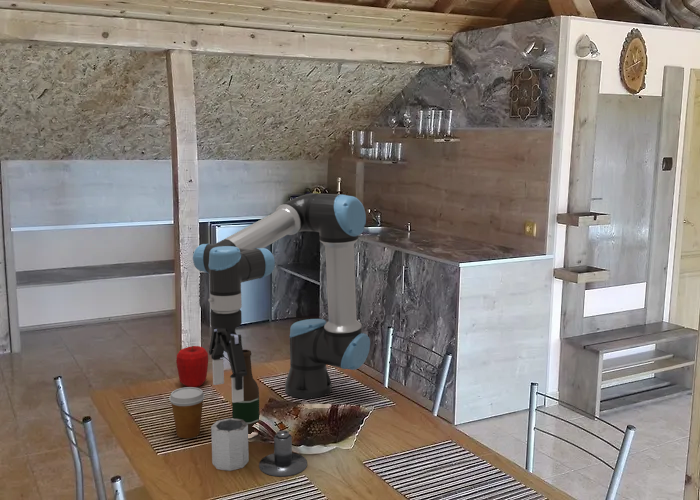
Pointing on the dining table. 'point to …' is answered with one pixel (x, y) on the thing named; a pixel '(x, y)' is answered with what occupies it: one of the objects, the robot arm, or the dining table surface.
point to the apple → (192, 366)
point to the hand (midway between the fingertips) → (227, 392)
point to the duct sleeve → (229, 444)
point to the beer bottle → (248, 398)
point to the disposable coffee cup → (187, 411)
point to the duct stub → (283, 458)
